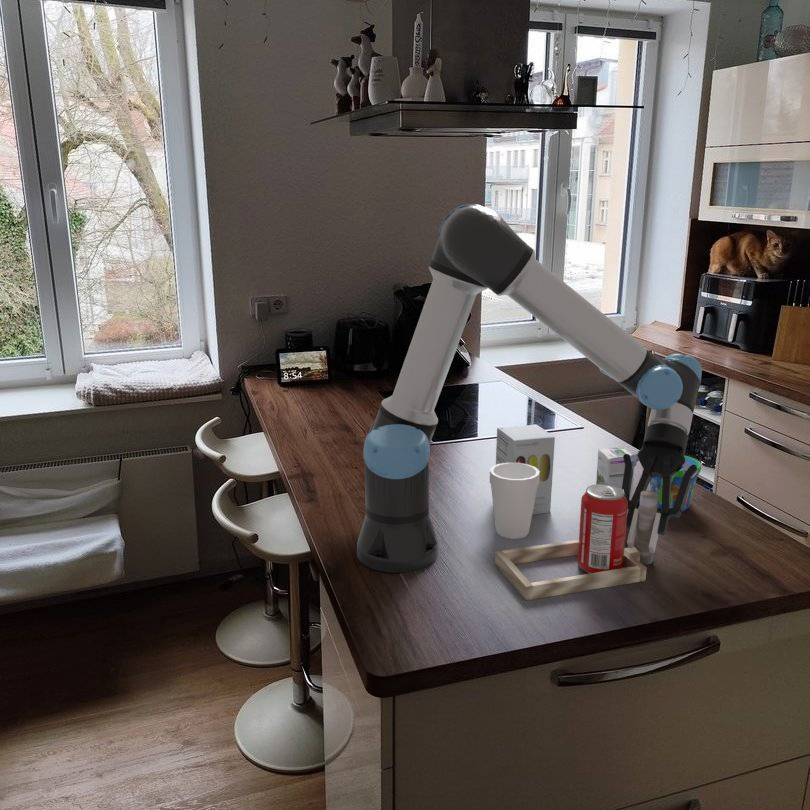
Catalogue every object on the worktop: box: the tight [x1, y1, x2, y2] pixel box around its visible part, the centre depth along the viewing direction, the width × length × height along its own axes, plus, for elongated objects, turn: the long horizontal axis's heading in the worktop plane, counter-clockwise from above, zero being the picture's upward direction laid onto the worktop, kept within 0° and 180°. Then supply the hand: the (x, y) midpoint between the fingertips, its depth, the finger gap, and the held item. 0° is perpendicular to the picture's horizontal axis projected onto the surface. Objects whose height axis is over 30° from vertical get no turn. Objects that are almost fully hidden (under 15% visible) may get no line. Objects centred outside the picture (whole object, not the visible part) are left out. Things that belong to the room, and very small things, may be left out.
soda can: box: [577, 484, 628, 574], centre depth 135 cm, size 8×8×15 cm
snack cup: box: [649, 455, 702, 512], centre depth 162 cm, size 16×10×10 cm
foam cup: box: [489, 463, 540, 540], centre depth 150 cm, size 10×9×13 cm
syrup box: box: [595, 447, 635, 514], centre depth 155 cm, size 6×6×14 cm
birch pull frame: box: [494, 490, 658, 601], centre depth 134 cm, size 28×13×13 cm, turn 106°
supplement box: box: [495, 424, 556, 516], centre depth 161 cm, size 10×9×17 cm
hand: (640, 547), depth 135 cm, fingers closed on birch pull frame, 3 cm apart
